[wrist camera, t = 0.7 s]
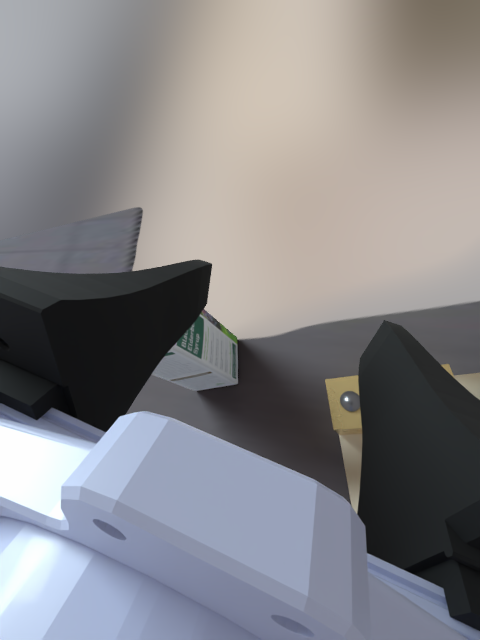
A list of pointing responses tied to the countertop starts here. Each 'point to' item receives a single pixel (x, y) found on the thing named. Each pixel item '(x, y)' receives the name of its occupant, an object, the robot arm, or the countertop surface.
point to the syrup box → (202, 357)
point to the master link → (348, 403)
